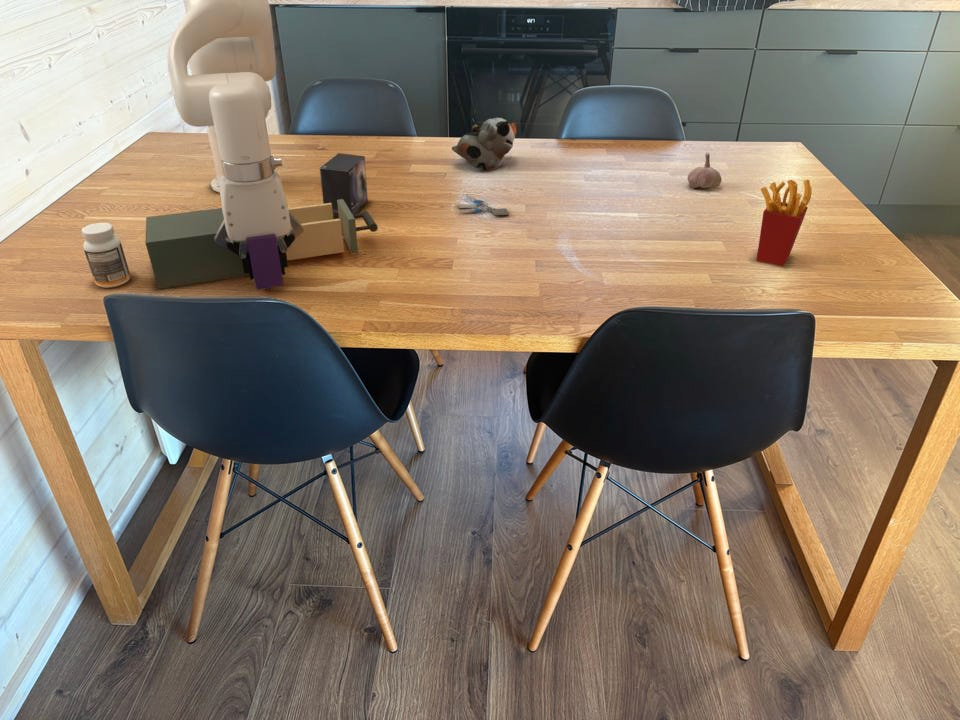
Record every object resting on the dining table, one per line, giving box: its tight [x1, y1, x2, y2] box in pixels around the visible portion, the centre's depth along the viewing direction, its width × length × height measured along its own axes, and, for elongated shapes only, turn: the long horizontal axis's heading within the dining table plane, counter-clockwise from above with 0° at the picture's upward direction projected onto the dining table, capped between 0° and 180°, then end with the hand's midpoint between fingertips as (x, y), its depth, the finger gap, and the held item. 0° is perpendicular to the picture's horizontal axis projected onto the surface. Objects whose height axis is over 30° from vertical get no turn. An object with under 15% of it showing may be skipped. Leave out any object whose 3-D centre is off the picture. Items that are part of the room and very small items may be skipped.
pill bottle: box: [81, 222, 131, 288], centre depth 118 cm, size 6×6×10 cm
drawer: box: [277, 199, 379, 261], centre depth 129 cm, size 23×10×7 cm, turn 111°
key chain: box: [458, 194, 510, 216], centre depth 149 cm, size 14×8×1 cm, turn 47°
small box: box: [319, 152, 369, 219], centre depth 147 cm, size 11×6×10 cm, turn 168°
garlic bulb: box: [687, 151, 723, 189], centre depth 161 cm, size 8×7×8 cm
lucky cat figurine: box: [451, 117, 517, 172], centre depth 172 cm, size 15×12×14 cm
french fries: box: [756, 179, 812, 268], centre depth 128 cm, size 9×8×15 cm
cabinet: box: [144, 207, 249, 290], centre depth 124 cm, size 20×12×9 cm, turn 111°
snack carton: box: [247, 234, 285, 291], centre depth 117 cm, size 6×4×9 cm
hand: (266, 272), depth 119 cm, fingers closed on snack carton, 4 cm apart
